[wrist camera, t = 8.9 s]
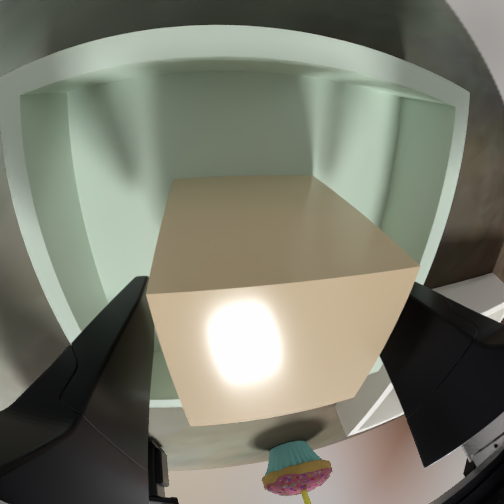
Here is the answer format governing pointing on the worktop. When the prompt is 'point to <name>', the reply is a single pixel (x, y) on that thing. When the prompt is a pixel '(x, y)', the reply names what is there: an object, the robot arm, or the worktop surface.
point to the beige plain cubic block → (271, 295)
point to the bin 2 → (379, 384)
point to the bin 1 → (214, 146)
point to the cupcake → (295, 470)
